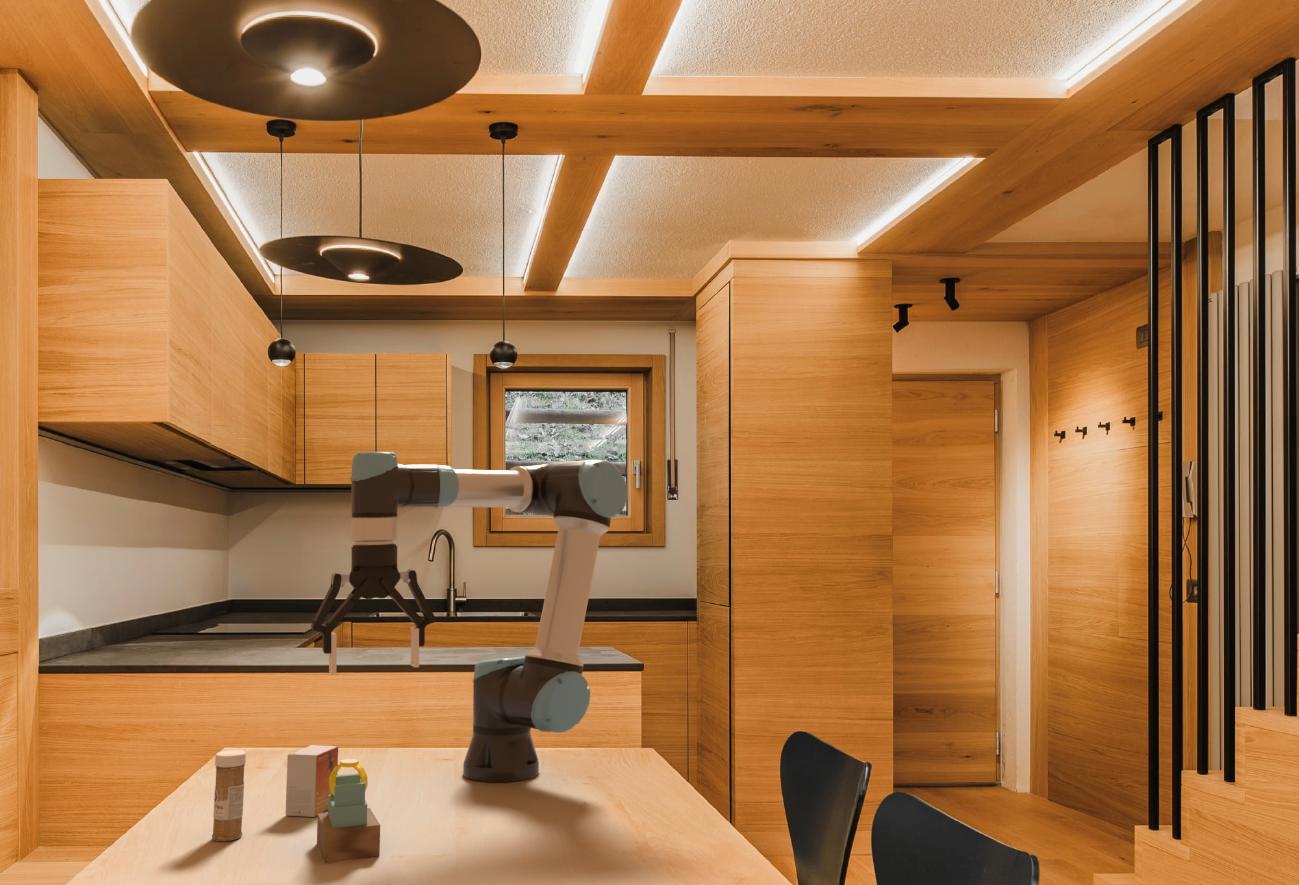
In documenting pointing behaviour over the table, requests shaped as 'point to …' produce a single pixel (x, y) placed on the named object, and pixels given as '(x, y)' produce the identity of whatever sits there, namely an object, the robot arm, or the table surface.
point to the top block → (348, 802)
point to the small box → (309, 780)
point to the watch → (347, 763)
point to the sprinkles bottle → (229, 795)
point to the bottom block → (348, 840)
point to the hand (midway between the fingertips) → (374, 670)
